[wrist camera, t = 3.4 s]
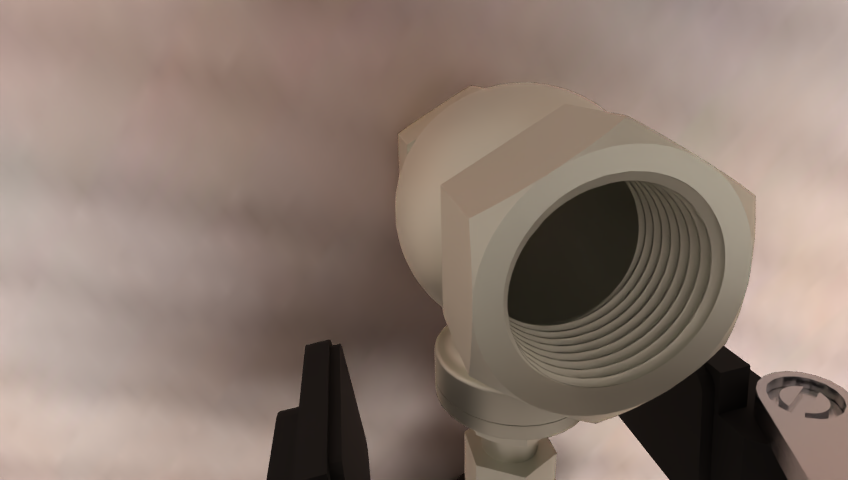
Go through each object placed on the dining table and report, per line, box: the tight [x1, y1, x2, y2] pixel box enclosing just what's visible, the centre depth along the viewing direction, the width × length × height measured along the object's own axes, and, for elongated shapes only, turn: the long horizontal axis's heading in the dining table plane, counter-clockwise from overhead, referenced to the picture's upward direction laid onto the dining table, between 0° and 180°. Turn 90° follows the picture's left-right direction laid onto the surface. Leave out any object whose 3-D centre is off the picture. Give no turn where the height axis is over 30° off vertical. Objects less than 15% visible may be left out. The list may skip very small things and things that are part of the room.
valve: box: [395, 83, 756, 480], centre depth 10 cm, size 7×7×12 cm
